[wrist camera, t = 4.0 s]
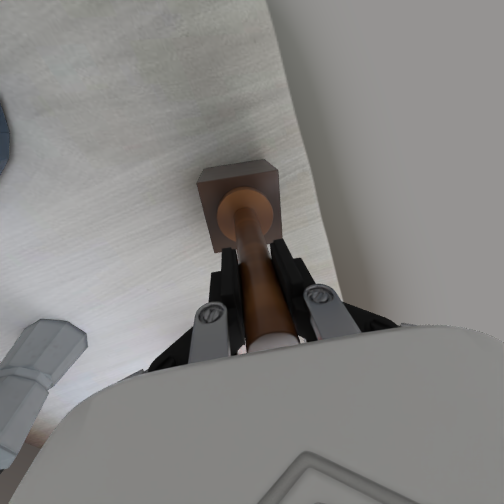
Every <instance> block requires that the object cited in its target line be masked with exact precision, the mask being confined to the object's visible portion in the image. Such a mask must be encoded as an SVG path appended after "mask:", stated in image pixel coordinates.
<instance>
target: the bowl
mask: <svg viewBox="0 0 504 504" xmlns="http://www.w3.org/2000/svg"><path fill="white" fill-rule="evenodd" d="M9 143H10V133H9V128H8V125H7V122H6V119H5V116H4V113H3V109H2V106H1V103H0V175H1V173H2V171H3V169H4V167H5V166H6V164H7V162H8V160H9Z"/></svg>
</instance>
